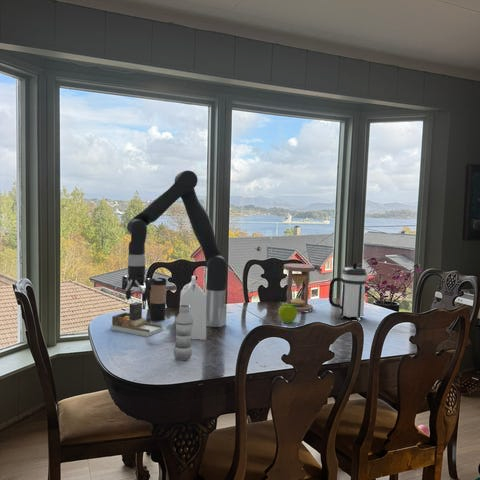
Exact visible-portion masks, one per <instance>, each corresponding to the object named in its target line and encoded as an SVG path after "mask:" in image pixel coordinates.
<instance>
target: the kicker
mask: <svg viewBox="0 0 480 480" xmlns="http://www.w3.org/2000/svg"><path fill="white" fill-rule="evenodd" d="M128 313H129V319H127V320H126V325H127V326H132V327H139V326H142V325H145V322H146V319H145V318H146V317H142V315H143V302H138V301H136V302H132V303H129V312H128Z"/></svg>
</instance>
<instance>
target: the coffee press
mask: <svg viewBox="0 0 480 480" xmlns="http://www.w3.org/2000/svg"><path fill="white" fill-rule="evenodd" d="M341 273H342V277H335V278H332V279H331V281H330V283H329V290H328V301H329V304H330V305H331V306H332V307H335V308H338V309H339V310H340V315H339V316H341V317H342V316H346V317H345V318H351V317H360V316H364V309H365V308H364V307H365V295H366V294H365V293H366V284H367V280H369V279H370V277H369V275H368V272H367V271H366V269H365V268H363V267H358V264H357V262H353V263H352V266H345V267H344V268H343V270H342V271H341ZM336 282H341V294H340V304H339V303H335V301H333V294H334V293H333V292H334V284H335V283H336Z"/></svg>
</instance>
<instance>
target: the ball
mask: <svg viewBox="0 0 480 480" xmlns="http://www.w3.org/2000/svg"><path fill="white" fill-rule="evenodd" d="M127 319H129V316H125V317H124V318H123V323H124V324H126V320H127Z"/></svg>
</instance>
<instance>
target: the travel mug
mask: <svg viewBox="0 0 480 480" xmlns="http://www.w3.org/2000/svg"><path fill="white" fill-rule="evenodd" d="M150 279H151V291H150V295H149V297H150V298H149V320H150V321H152V322H162V321H163V322H164V321H165V319H166V306H167V278H164V277H158V278H154V277H153V278H150Z"/></svg>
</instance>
